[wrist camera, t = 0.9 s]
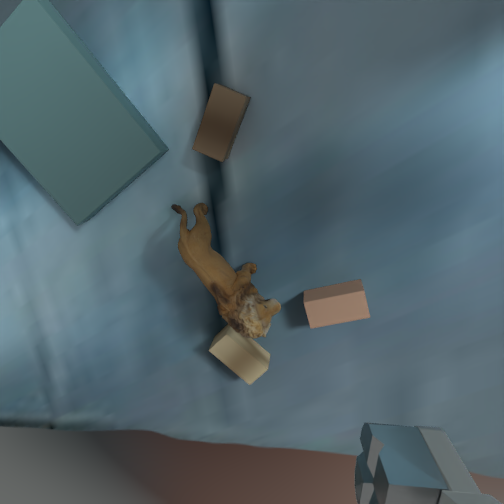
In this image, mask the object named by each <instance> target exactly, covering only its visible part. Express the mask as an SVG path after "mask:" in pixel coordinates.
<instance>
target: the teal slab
mask: <svg viewBox="0 0 504 504" xmlns="http://www.w3.org/2000/svg"><path fill="white" fill-rule="evenodd" d="M0 140H1V141H2V142H3V143H4V144H5V146H6V147H7V148H8V149H9V150H10V151H11V152H12V153H13V155H14V156H15V157H16V158H17V159H18V160H19V161H20V162H21V163H22V165H23V166H24V167H25V168H26V169H27V170H28V171H29V172H30V174H31V175H32V176H33V177H34V178H35V179H36V180H37V181H38V182H39V184H40V185H41V186H42V187H43V188H44V189H45V190H46V191H47V193H48V194H49V195H50V196H51V197H52V198H53V199H54V200H55V201H56V203H57V204H58V205H59V206H60V207H61V208H62V209H63V210H64V212H65V213H66V214H67V215H68V216H69V217H70V218H71V219H72V220H73V222H74V223H75V224H76V225H77V226H78V225H80V224H81V223H83V222H85V221H87V220H89V219H90V218H92V217H93V216H94V215H95V214H96V213H97V212H98V211H100V210H101V209H102V208H103V207H104V206H105V205H106V204H107V203H109V202H110V201H111V200H112V199H113V198H114V197H115V196H117V195H118V194H119V193H120V192H121V191H122V190H123V189H125V188H126V187H127V186H128V185H129V184H130V183H131V182H132V181H134V180H135V179H136V178H137V177H138V176H139V175H140V174H142V173H143V172H144V171H145V170H146V169H147V168H148V167H149V166H151V165H152V164H153V163H154V162H155V161H156V160H157V159H159V158H160V157H161V156H162V155H163V154H164V153H165V152H167V151H168V150H169V149H168V148H167V146H166V145H165V144H164V143H163V141H162V140H161V139H160V138H159V136H158V135H157V134H156V133H155V131H154V130H153V129H152V128H151V126H150V125H149V124H148V123H147V122H146V120H145V119H144V118H143V117H142V115H141V114H140V113H139V112H138V110H137V109H136V108H135V107H134V105H133V104H132V103H131V102H130V100H129V99H128V98H127V97H126V96H125V94H124V93H123V92H122V91H121V89H120V88H119V87H118V86H117V84H116V83H115V82H114V81H113V79H112V78H111V77H110V76H109V74H108V73H107V72H106V71H105V70H104V68H103V67H102V66H101V65H100V63H99V62H98V61H97V60H96V58H95V57H94V56H93V55H92V53H91V52H90V51H89V50H88V48H87V47H86V46H85V45H84V44H83V42H82V41H81V40H80V39H79V37H78V36H77V35H76V34H75V32H74V31H73V30H72V29H71V27H70V26H69V25H68V24H67V22H66V21H65V20H64V19H63V18H62V16H61V15H60V14H59V13H58V11H57V10H56V9H55V8H54V6H53V5H52V4H51V3H50V1H49V0H23V1H22V2H21V3H20V4H19V5H18V7H17V8H16V9H15V10H14V12H13V13H12V14H11V15H10V16H9V18H8V19H7V20H6V21H5V22H4V24H3V25H2V26H1V27H0Z"/></svg>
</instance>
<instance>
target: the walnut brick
mask: <svg viewBox="0 0 504 504" xmlns="http://www.w3.org/2000/svg"><path fill="white" fill-rule="evenodd" d="M250 98H251V97H248V96H246V95H244V94H241V93H239V92H237V91H234V90H232V89H230V88H227V87H225V86H223V85H220V84H215V83H214V86H213V89H212V92H211V95H210V98H209V101H208V103H207V106H206V109H205V112H204V115H203V118H202V121H201V124H200V127H199V130H198V133H197V136H196V139H195V142H194V145H193V148H192V149H193V150H195V151H198V152H200V153H202V154H205V155H207V156H209V157H212V158H214V159H216V160H219V161H221V162H223V161H225V160H226V159H228V157H229V154H230V151H231V149H232V146H233V143H234V141H235V138H236V135H237V133H238V130H239V127H240V125H241V122H242V119H243V117H244V114H245V111H246V109H247V106H248V103H249V101H250Z"/></svg>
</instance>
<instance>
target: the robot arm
mask: <svg viewBox="0 0 504 504" xmlns="http://www.w3.org/2000/svg"><path fill="white" fill-rule="evenodd" d="M360 441H361V444H362V448H363V452H362V453H361V454H360V455H359V456H357V459H356V466H355V492H356V499H357V503H358V504H502V503H500V502H499V501H498V500H496V499H495V498H494V497H492V496H491V495H488V494H481V492H480V490H479V489H478V487H477V485H476V484H475V482H474V480H473V479H472V477H471V475H470V474H469V472H468V470H467V468H466V467H465V465H464V463H463V462H462V460H461V458H460V457H459V455H458V453H457V452H456V450H455V448H454V446H453V445H452V443H451V441H450V440H449V438H448V436H447V435H446V433H445V431H444V430H443V429H441V428H440V427H428V426H414V427H413V426H402V425H389V424H377V423H364V425H363V427H362V431H361V436H360Z"/></svg>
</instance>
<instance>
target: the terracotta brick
mask: <svg viewBox="0 0 504 504" xmlns="http://www.w3.org/2000/svg"><path fill="white" fill-rule="evenodd" d="M304 306H305V309H306V313H307V317H308V320H309V324H310V328H316V327H322V326H327V325H332V324H338V323H343V322H348V321H354V320H359V319H364V318H370V314H369V310H368V305H367V301H366V296H365V292H364V288H363V285H362V282H361V279H359V280H354V281H349V282H344V283H339V284H335V285H330V286H325V287H320V288H315V289H310V290H305V291H304Z"/></svg>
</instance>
